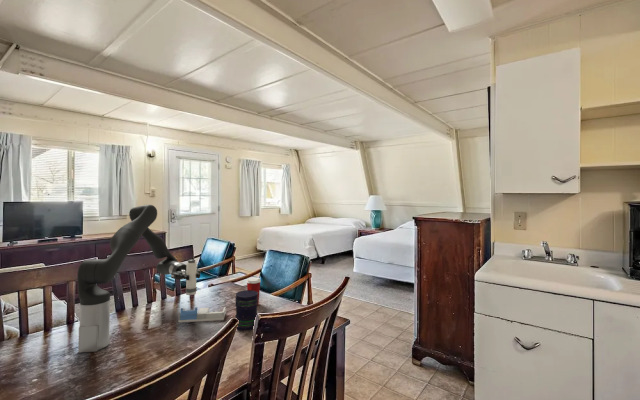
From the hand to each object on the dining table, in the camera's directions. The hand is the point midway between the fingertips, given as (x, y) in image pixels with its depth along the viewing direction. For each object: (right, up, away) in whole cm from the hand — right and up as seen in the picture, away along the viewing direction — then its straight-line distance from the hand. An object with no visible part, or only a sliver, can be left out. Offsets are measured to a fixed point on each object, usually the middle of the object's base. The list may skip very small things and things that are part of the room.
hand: (193, 277), depth 140 cm
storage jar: (+26, -21, -6) cm, 34 cm away
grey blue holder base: (+3, -20, +3) cm, 21 cm away
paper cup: (+23, -21, +22) cm, 38 cm away
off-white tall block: (-2, -8, +2) cm, 9 cm away
